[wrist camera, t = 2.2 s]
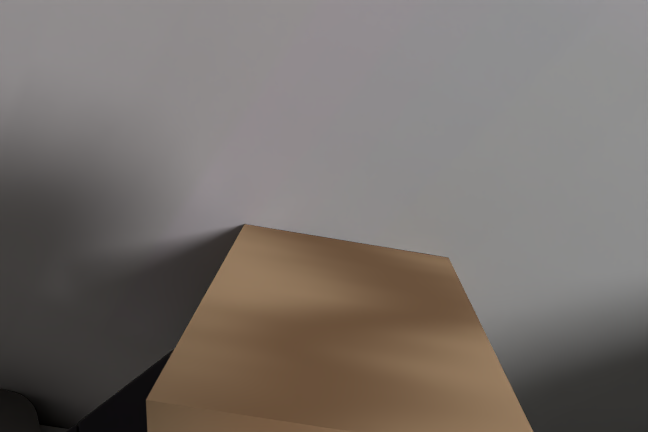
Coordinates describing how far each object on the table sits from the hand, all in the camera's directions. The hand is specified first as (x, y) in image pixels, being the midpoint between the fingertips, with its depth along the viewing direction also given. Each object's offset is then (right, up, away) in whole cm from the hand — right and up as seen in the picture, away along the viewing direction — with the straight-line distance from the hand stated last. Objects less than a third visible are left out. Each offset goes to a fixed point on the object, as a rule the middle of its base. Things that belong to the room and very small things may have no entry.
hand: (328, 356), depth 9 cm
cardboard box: (0, 0, +1) cm, 1 cm away
